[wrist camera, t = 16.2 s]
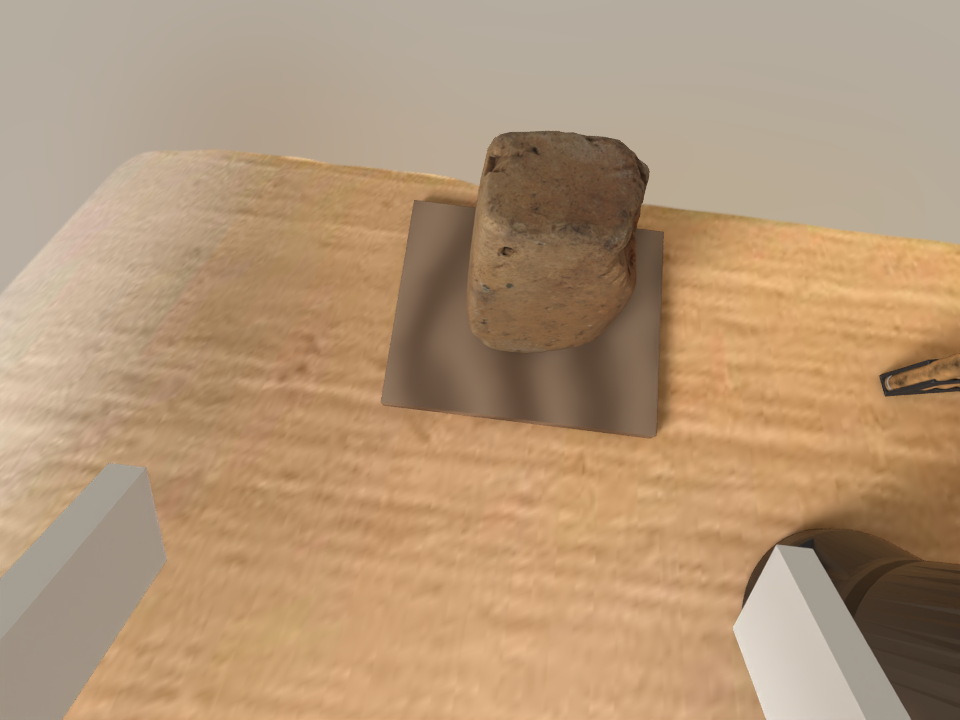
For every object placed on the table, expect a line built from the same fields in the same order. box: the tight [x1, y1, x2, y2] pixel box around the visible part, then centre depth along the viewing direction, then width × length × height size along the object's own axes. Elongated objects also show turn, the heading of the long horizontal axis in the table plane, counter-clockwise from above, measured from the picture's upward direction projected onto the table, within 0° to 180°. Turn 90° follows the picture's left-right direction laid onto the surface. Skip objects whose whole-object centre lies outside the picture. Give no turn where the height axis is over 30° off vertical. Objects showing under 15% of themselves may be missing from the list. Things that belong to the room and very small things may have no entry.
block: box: [467, 131, 649, 353], centre depth 38 cm, size 11×8×20 cm
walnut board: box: [381, 200, 664, 438], centre depth 49 cm, size 22×18×2 cm
